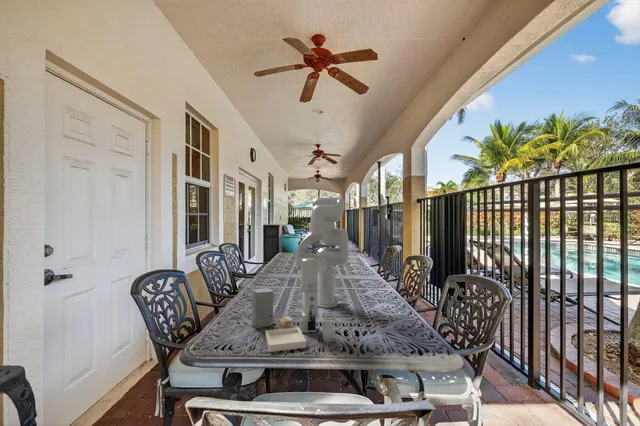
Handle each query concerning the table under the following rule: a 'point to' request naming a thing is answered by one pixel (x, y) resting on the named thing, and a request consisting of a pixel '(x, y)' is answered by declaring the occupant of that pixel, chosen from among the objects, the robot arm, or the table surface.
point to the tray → (284, 339)
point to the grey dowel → (327, 332)
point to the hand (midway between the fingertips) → (308, 325)
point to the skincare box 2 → (305, 323)
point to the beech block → (285, 323)
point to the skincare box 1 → (262, 308)
